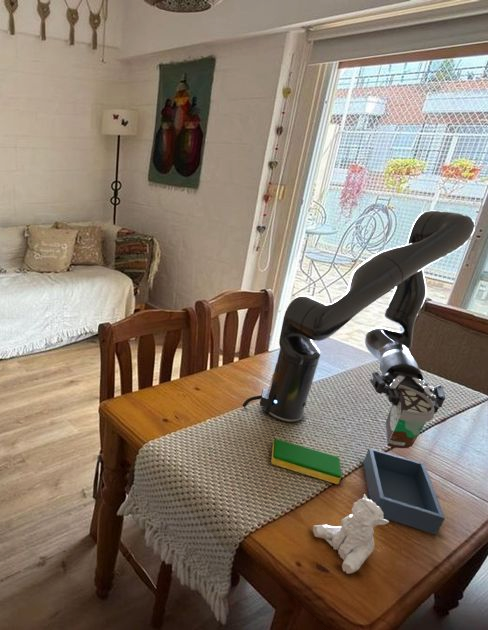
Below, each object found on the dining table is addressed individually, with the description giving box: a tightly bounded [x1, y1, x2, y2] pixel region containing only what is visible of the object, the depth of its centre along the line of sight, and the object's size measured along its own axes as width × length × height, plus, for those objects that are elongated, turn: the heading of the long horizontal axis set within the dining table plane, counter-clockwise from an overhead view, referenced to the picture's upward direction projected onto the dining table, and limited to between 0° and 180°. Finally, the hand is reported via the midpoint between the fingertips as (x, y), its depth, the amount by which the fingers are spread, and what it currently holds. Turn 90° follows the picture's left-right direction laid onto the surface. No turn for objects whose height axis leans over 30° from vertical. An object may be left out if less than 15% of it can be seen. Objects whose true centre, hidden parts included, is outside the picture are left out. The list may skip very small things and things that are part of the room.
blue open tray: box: [362, 447, 446, 536], centre depth 93 cm, size 11×17×4 cm, turn 154°
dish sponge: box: [270, 438, 342, 485], centre depth 102 cm, size 7×14×2 cm, turn 64°
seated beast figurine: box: [312, 493, 390, 575], centre depth 80 cm, size 10×9×12 cm
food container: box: [385, 385, 435, 449], centre depth 95 cm, size 12×6×10 cm, turn 148°
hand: (414, 406), depth 94 cm, fingers closed on food container, 6 cm apart
